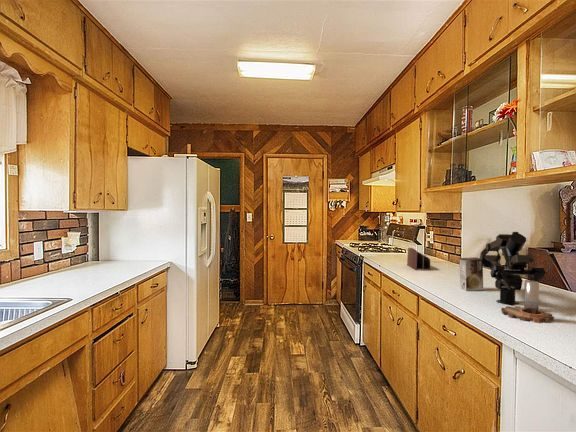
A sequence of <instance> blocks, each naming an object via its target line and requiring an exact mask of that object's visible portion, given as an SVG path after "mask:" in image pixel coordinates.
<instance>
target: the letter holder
mask: <svg viewBox="0 0 576 432" xmlns="http://www.w3.org/2000/svg"><path fill="white" fill-rule="evenodd" d="M406 257H407V259H406V260H407V261H406V262H407V263H406V265H407V267H409V268H411V269H413V270H414V271H423V272H424V271H431V270H432V269H431V258H430V257H428V256H426V255H424V254H422V253H421V252H419V251H417V250H416V249H414V248H413V247H408V249H407V256H406Z"/></svg>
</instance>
